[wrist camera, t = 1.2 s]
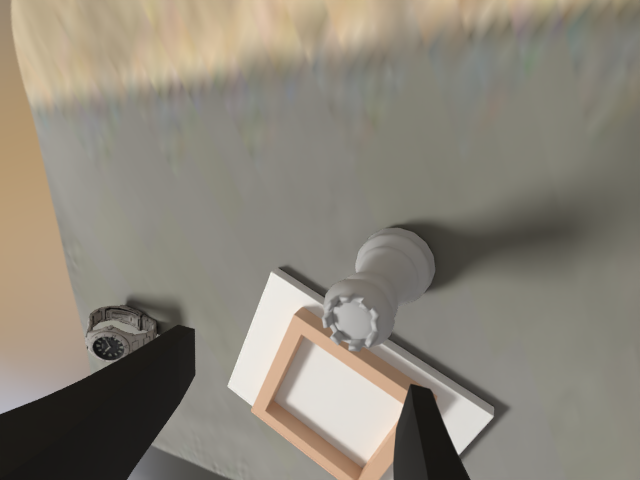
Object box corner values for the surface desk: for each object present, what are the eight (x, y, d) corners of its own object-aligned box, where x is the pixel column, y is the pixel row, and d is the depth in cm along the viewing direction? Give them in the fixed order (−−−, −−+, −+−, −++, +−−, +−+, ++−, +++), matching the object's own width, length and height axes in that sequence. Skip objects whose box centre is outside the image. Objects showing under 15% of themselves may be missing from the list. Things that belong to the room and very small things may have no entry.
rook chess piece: (453, 270, 21) (427, 343, 14) (394, 309, 23) (347, 388, 16) (402, 209, 21) (351, 251, 14) (348, 253, 24) (283, 308, 17)
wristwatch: (164, 346, 35) (115, 378, 30) (117, 319, 37) (65, 345, 32) (165, 314, 33) (114, 343, 29) (116, 288, 35) (62, 312, 31)
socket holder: (494, 407, 22) (493, 431, 20) (402, 510, 27) (394, 536, 26) (277, 267, 26) (261, 277, 25) (233, 380, 32) (217, 395, 30)
